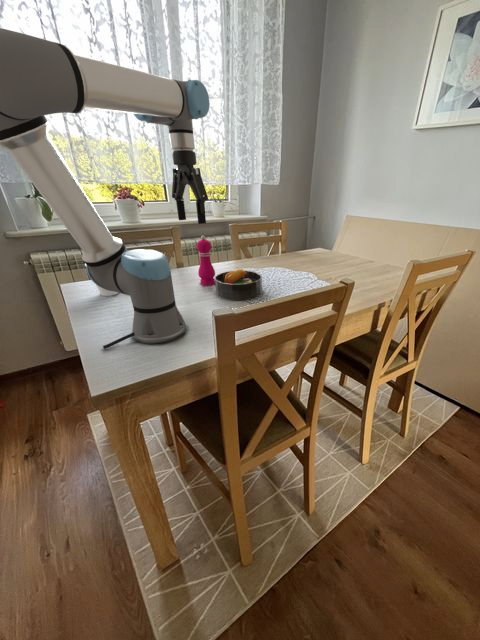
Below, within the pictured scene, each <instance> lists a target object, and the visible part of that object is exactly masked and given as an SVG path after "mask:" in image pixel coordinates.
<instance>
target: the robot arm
mask: <svg viewBox="0 0 480 640" xmlns="http://www.w3.org/2000/svg"><path fill="white" fill-rule="evenodd" d="M209 95H210V94H209V92H208V89H207V88H206V86H205V84H204V83H203V82H202V81H201V80H198V79H188V80H184V81H183V80H178V79H173V78H169V77H166V76H162V75H157V74H154V73H148V72H145V71H142V70H141V71H140V70H137V69H133V68H128V67H124V66H121V65H117V64H113V63H108V62H105V61H100V60H96V59H92V58H88V57H84V56H80V55H75V54H74V53H73V51H72V50H71V49H70V48H69V47H68V46H67V45H65V44H62V43H59V42H55V41H51V40H48V39H44V38H41V37H37V36H33V35H30V34H26V33H22V32H18V31H14V30H11V29H6V28H0V147H1V148H3V149H4V150H6V151H7V152H9V154H10V156H11V157H12V158H13V159H14V161H15V162H16V163H17V165H18V167H20V169H21V170H22V171H23V173H24V174H25V176H26V177H27V178H28V179H29V181H30V182H31V183H32V184H33V186H34V187H35V189H36V190H37V191H38V193H39V194H40V195H41V196H42V198H43V199H44V201H45V202H46V204H48V206H49V208H50V209H51V210H52V211H53V212H54V214H55V216H56V217H57V218H58V220H59V221H60V222H61V223H62V224H63V226H64V228H65V229H66V230H67V231H68V232H69V234H70V235H71V236H72V238H73V239H74V240H75V242H76V243H77V245H78V246H79V247H80V249H81V250H82V255H81V260H82V261H83V262H84V264H85V263H86V265H87V268H86V267H85V270H86V274H87V276H88V278H89V279H90V280H91V281H92V282H93V284H95V286H96V285H98V286H99V287H101V288H103V289H106V290H109V291H114V292H118V294H122V295H124V296H125V295H126V296H130V300H131V303H132V304H131V305H132V309H133V319H132V329H131V333H129V334H127V335H124V336H122V337H119V338H118V339H116V340H113V341H112V342H109V343H107V344H105V345H102V348H103V350H106V349H108V348H111V347H113V346H115V345H118V344H119V343H121V342H123V341H125V340H127V339H130V338H132V337H133V339H134V340H135V341H137V342H139V343H141V344H147V345H158V344H165V343H169V342H172V341H174V340H177V339H179V338H180V337H182V336H183V335H184V334H185V333H186V331H187V326H186V322H185V320H184V318H183V316H182V314H181V312H180V310H179V308H178V307H177V304H176V299H175V298H176V297H175V289H174V284H173V278H172V270H171V267H170V263H169V259H168V257H167V256H166V255H165V254H164V253H163V252H160V251H159V250H154V249H144V248H138V249H137V248H136V249H130V250H128V248H127V247H126V245H125V243H124V242H123V241H122V239H121V238H119V237H116V236H113V235H112V233H111V231H110V230H109V229H108V227H107V225H106V223H105V222H104V221H103V219H102V218H101V216H100V214H99V213H98V211H97V210H96V208H95V207H94V205H93V203H92V202H91V200H90V198H89V197H88V196H87V194H86V192H85V191H84V189H83V187H82V186H81V184H80V183H79V182H78V179H77V178H76V176H75V175H74V174H73V172H72V170H71V169H70V168H69V166H68V164H67V162H66V161H65V160H64V158H63V156H62V155H61V153H60V151H59V150H58V148H57V147H56V145H55V144H54V142H53V141H52V139H51V137H50V136H49V125H50V122H49V121H48V119H47V117H46V116H48V115H54V114H63V113H66V114H80V113H82V112H83V111H84V109H91V110H100V111H109V112H116V113H118V112H119V113H128V114H133V116H134V117H135V119H137V120H138V121H139V122H144V123H147V124H154V125H162V126H166V127H167V128H168V137H169V143H170V148H171V150H173V151H171V156H172V157H171V158H172V164H173V165H175V166H177V168H172V188H171V198H172V199H174V201H175V205H176V210H177V219H178V221H186V220H187V215H186V208H185V199H184V197H183V196H184V193H185V189H186V186H187V185H188V186H189V187H190V189H191V191H192V194H193V196H194V198H195V206H196V215H197V224H198V225H204V224H207V217H206V205H205V204H206V201H208V200H209V196H208V193H207V190H206V186H205V183H204V181H203V178H202V174H201V169H200V167H194V166H196V165H197V155H196V154H197V153H196V152H195V151H194V150H195V149H196V145H195V137H194V128H193V120H199V119H203V118H205V117H206V116H207V115H208V114H209V111H210V106H211V105H210V104H211V103H210V96H209Z"/></svg>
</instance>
